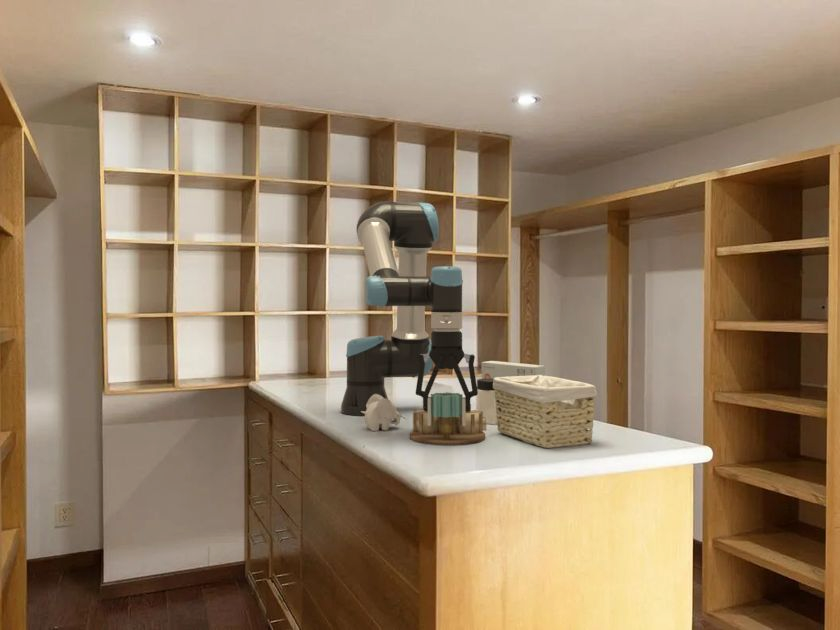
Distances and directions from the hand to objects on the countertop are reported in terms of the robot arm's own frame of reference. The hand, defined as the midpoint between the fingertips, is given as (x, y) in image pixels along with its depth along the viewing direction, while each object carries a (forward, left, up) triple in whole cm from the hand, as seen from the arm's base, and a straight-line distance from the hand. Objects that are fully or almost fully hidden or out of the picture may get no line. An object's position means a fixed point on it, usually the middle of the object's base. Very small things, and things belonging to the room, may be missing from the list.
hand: (446, 424), depth 168 cm
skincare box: (-32, +31, -5) cm, 45 cm away
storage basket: (+2, +25, -5) cm, 25 cm away
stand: (-15, +13, -4) cm, 21 cm away
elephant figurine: (-22, -11, -5) cm, 25 cm away
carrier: (-6, +2, -4) cm, 7 cm away
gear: (0, 0, +2) cm, 2 cm away
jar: (-24, +21, -5) cm, 32 cm away
